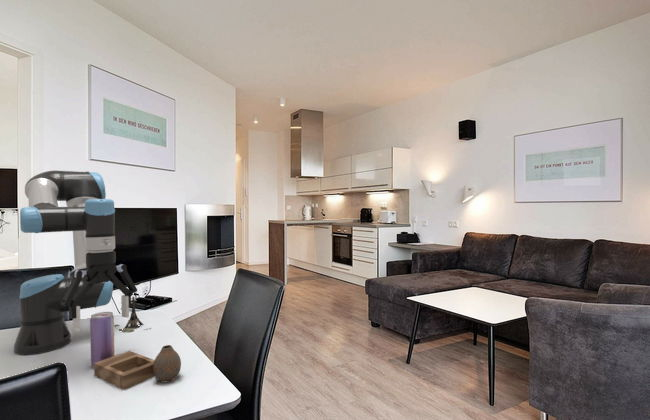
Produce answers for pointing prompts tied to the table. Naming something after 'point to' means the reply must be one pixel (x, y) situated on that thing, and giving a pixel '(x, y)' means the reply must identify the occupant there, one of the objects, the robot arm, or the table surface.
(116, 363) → the wooden recessed tray
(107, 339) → the beverage can
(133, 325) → the eiffel tower figurine
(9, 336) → the table surface
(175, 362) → the vase
